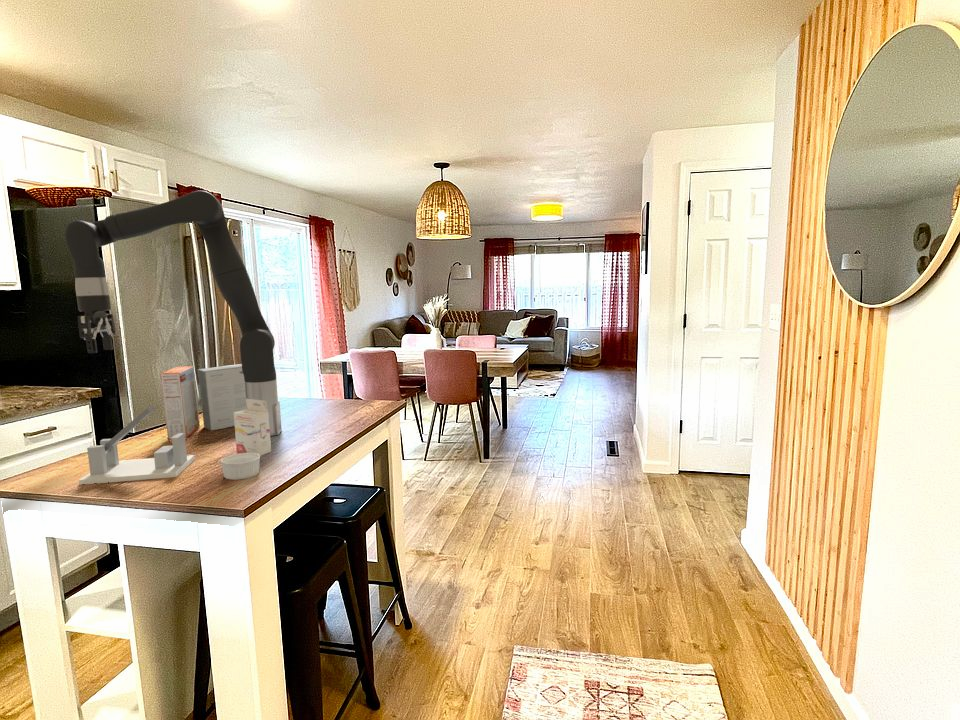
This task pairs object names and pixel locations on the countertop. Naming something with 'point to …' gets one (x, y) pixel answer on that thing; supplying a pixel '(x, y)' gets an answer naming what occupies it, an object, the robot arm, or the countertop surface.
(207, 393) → the hard drive box
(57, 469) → the countertop surface
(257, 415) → the ink cartridge box
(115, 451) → the base
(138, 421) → the clamp lever
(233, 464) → the ramekin
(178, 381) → the cracker box
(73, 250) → the robot arm
